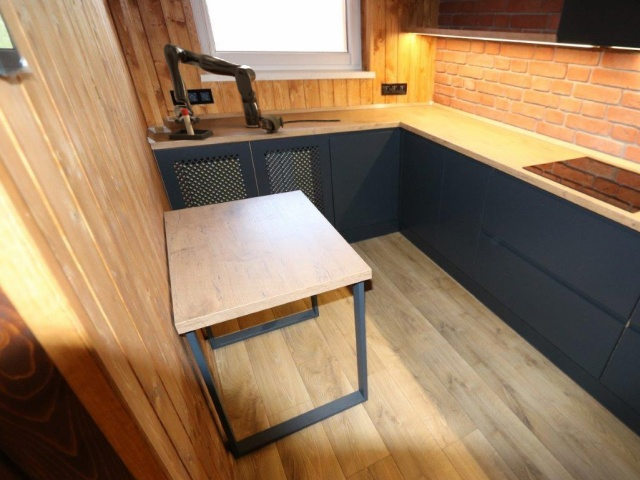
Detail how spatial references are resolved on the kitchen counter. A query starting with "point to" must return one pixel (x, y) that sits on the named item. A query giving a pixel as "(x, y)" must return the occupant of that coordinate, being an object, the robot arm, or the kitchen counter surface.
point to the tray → (198, 135)
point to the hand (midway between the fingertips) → (188, 122)
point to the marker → (187, 121)
